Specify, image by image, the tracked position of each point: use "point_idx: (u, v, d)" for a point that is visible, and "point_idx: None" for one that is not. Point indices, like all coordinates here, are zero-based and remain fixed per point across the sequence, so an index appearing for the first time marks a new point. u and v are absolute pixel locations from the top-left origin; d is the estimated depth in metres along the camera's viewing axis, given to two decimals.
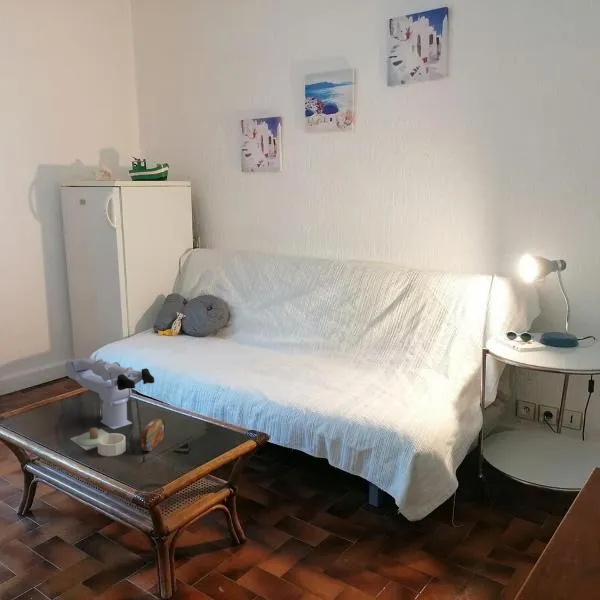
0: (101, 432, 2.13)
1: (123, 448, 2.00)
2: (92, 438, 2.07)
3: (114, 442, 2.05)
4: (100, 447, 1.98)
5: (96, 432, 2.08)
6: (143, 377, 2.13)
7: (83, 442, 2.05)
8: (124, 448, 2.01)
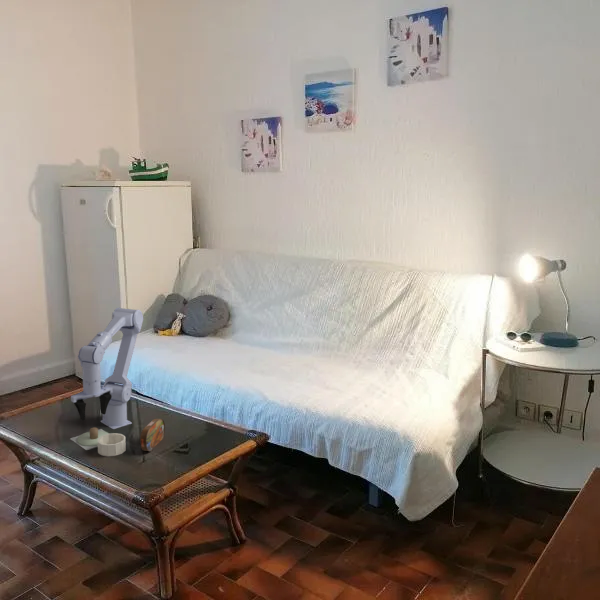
0: (101, 432, 2.13)
1: (123, 448, 2.00)
2: (92, 438, 2.07)
3: (114, 442, 2.05)
4: (100, 447, 1.98)
5: (96, 432, 2.08)
6: (102, 397, 2.09)
7: (83, 442, 2.05)
8: (124, 448, 2.01)
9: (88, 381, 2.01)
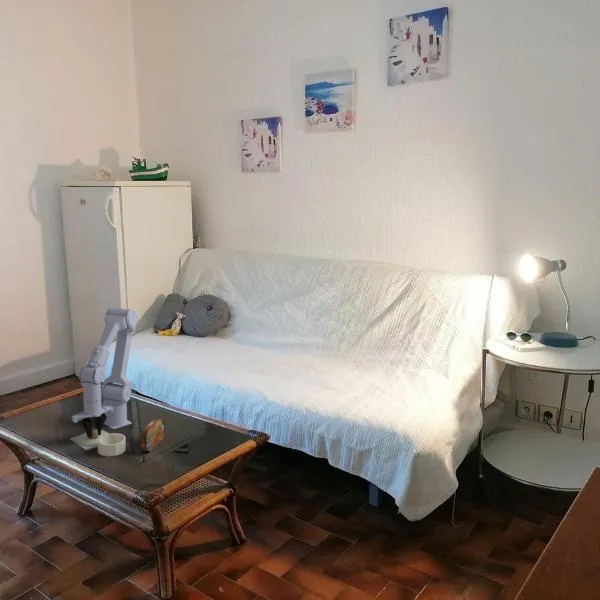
0: (101, 432, 2.13)
1: (123, 448, 2.00)
2: (92, 438, 2.07)
3: (114, 442, 2.05)
4: (100, 447, 1.98)
5: (96, 432, 2.08)
6: (97, 418, 2.09)
7: (83, 442, 2.05)
8: (124, 448, 2.01)
9: (89, 401, 2.03)
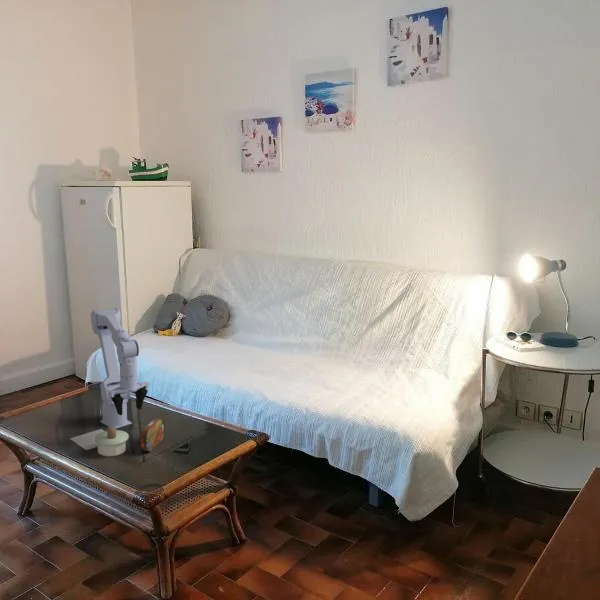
0: (118, 431, 2.05)
1: (123, 448, 2.00)
2: (110, 438, 2.00)
3: None
4: (100, 447, 1.98)
5: (114, 431, 2.00)
6: (138, 392, 2.10)
7: (101, 442, 1.97)
8: (124, 448, 2.01)
9: (132, 375, 2.04)
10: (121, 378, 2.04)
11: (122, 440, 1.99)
